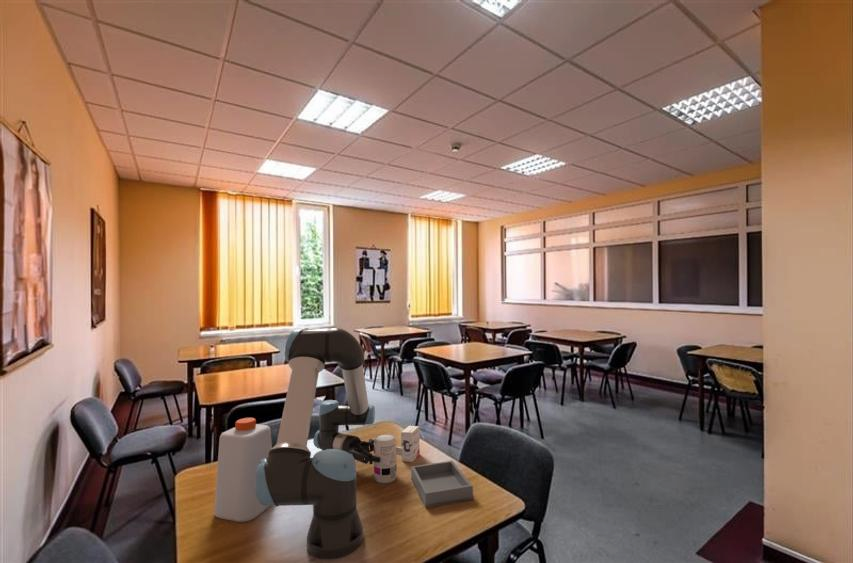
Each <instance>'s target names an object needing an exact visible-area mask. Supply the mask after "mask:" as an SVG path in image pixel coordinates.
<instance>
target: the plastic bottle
mask: <svg viewBox="0 0 853 563" xmlns="http://www.w3.org/2000/svg"><path fill="white" fill-rule="evenodd" d="M234 424H235V425H234V426H235V427H232V428H230V429H228V430H226V431H224V432H222V433H221V434H220V436H219V441H218V454H217V455H218V456H217V469H216V470H217V471H216V480H215V481H216V484H215V494H214V495H215V497H214V509H213V513H214V515H215V517H216V518H219V519H222V520H227V521H232V522H238V523H244V522H249V521H251V520H254V519H255V518H257V517H258V516H260V515H261V514H262V513H264V512H265V511H266V510H267V509H268V508H270V507H271V506H265V505H262V504H261V503H260V502H259V501H258V498H257V495H256V490H255V476H256V470H257V466H258V465H259V462H260V461H261V460H262V459H264V458H268V454H269V450H270V449H271V448H273V444H272V432H271V431H272V430H271V427H270V426H269V425H267V424H259V423H257V420H256V418H254V417H244V418H240V419H238V420H236V421H235V423H234Z"/></svg>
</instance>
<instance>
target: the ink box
mask: <svg viewBox="0 0 853 563" xmlns="http://www.w3.org/2000/svg"><path fill="white" fill-rule="evenodd" d="M400 434H401V436H400V437H401V442H400V443H401V447H402V448H403V456H401V461H402V462H406V463H408V462H409V463H414V461H415V460H416V459H417V458H418V457H419V455H420V454H421V453H420V451H421V449H420V445H421V444H420V426H418V425H408V426H407V427H406V428H405V429H403V430H402V431H401V432H400Z"/></svg>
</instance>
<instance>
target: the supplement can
mask: <svg viewBox="0 0 853 563" xmlns="http://www.w3.org/2000/svg"><path fill="white" fill-rule="evenodd" d="M373 440H374V451H373V454H374V453H375V454H380V455H384V456H388V457H389V465H385V464H381V463H377V462H373V472H374V473H373V478H374V480H375V481H376V482H377V483H379V484H389V483H392V482H394V481H395V480H396V479H397V477H398V476H397V475H398V474H397V472H398V471H397V455H396V446H397V440H396V438H395V435H393V434H391V433H382V434H378V435H376V436H375V439H373Z"/></svg>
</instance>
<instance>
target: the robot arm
mask: <svg viewBox="0 0 853 563" xmlns="http://www.w3.org/2000/svg"><path fill="white" fill-rule="evenodd" d="M364 352H365V351H364V349H363V347H362V345H361V344H360V342H359V341H358V339H357V338H356V337H355V336H354V335H353V334H352V333H350V332H349V331H347V330H346V329H343V328H339V327H327V328H308V327H304V328H298V329H295V330H293V331H291V332H290V333H289V335H288V336H287V339H286V342H285V346H284V358H285V361H286V362H287V363H288V367H289V368H290V369H291V372H290V377H289V378H290V379H289V382H288V388H287V391H286V397H285V401H284V405H283V406H284V407H283V411H282V416H281V419H280V420H281V421H280V425H279V431H278V434H277V440H276V444H275V445H274V446H272V448H271V449H270V450H269V454H268V458H264V459H262V460H261V461H260V462H259V465H258V466H257V470H256V476H255V490H256V495H257V498H258V501H259V502H260V503H261V504H262V505H265V506H270V507H271V506H272V507H276V508H278V507H280V506H312V507H313V508H312V510H313V511H312V513H313V514H312V518H311V522H310V524H309V528H308V531H307V535H306V548H307V551H308V553H309V554H311V555H312V556H313V557H315V558H316V557H317V558H319V559H325V560H327V559H337V558H341V557H344V556H347V555H349V554H351V553H352V552H355V550H357V549H358V548H359V547H360V545H361V544H362V543H363V540H364V526H363V524H362V520H361V517H360V514H359V512H358V509H357V475H358V474H357V473H358V472H357V467H356V465H357V464H356V461H358V462H360V463H363V464H365V465H367V464H369V465H374V462H377V463H381V464H385V465H389V457H388V456H384V455H380V454H375V453H374V440H375V439H372V438H369V439H368V441H366V440H362V439H361V438H360V437H359V436H357V435H352V434H348V433H343V432H339V429H340V428H339V427H340V426H367V425H373V424H374V423H375V420H376V419H375V418H376V408H375V406H374V405H373V404H369V400H368V393H367V392H368V391H367V387H366V379H365V372H364V367H363V364H365V360H366V358H365V353H364ZM326 363H337V366H338V367H339V368H340V369H341V372H342V378H343V383H344V388H345V392H346V398H347V403H348V405H340V404H339V401H338V400H336V399H335V400H333V399H326V400H324V401H322V402H321V403H320V404H319V413H318V416H319V420H318V422H319V429H318V430H317V431H316V432H315V434H314V437H313V445H314V447H316V448H317V449H320V450H319V451H317V452H316V453H315V452H314V454H313V456H312V455H311V454H312V453H311V451H310V449H309V447H308V440H309V435H310V429H311V428H310V427H311V421H312V416H313V410H314V403H315V397H316V391H317V385H318V380H319V373H320V372H322V371H323V370H324V369H325V364H326ZM372 452H373V454H372ZM311 456H312V457H311ZM396 456H401V457H402V456H403V448H402V447H400V446H397V445H396Z"/></svg>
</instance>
